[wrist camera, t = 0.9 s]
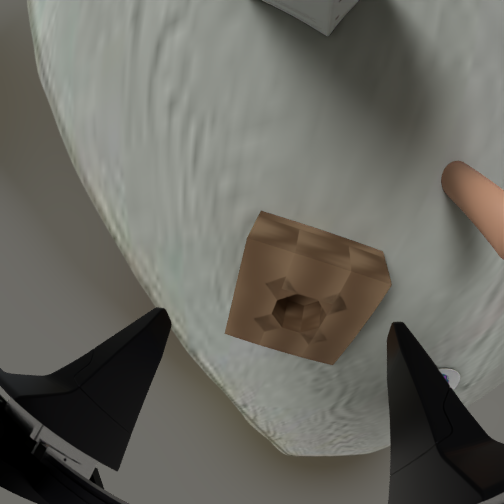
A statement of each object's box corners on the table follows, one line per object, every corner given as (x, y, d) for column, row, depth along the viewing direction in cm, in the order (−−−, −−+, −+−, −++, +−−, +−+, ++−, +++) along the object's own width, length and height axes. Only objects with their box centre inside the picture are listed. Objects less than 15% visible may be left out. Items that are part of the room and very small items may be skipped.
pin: (477, 171, 15) (540, 222, 8) (463, 204, 17) (515, 267, 10) (450, 154, 16) (514, 199, 8) (435, 189, 17) (487, 250, 10)
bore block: (382, 251, 22) (391, 284, 18) (334, 331, 28) (332, 365, 24) (261, 210, 22) (247, 237, 19) (237, 302, 29) (224, 333, 25)
